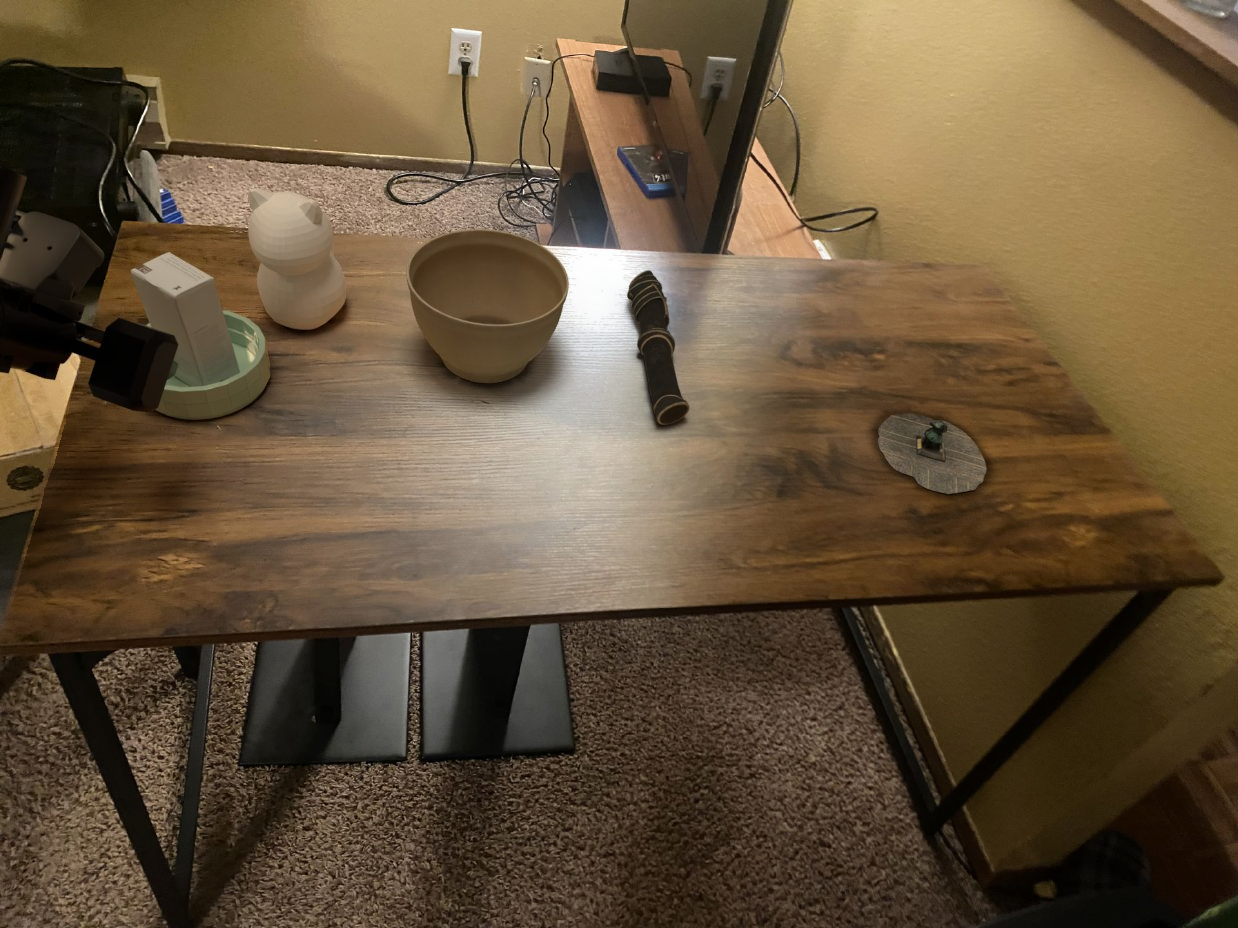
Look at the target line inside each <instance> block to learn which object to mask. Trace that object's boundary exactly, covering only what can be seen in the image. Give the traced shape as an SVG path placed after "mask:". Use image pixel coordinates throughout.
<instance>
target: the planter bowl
mask: <svg viewBox="0 0 1238 928" xmlns="http://www.w3.org/2000/svg"><path fill="white" fill-rule="evenodd" d="M405 272H406V274H405V275H406V282H407V283H406V284H407V287H408V290H409V296H410V303H411V308H412V311H413V315H414V317H415V318H414V319H415V320H416V323H417V325H418V327H419V330H420V331H421V333H422V335H423V337H424V338H425V340H426V341H427V343H428V344H429V346H430V347H431V348H432V349H433V351H434V352H436V353H437V354H438V356H439V357H440V359H441V361H442V363H443V364H444V366H445V367H446V368H447V369H448V370H449V371H450V372H451V373H452V374H454V375H456V376H457V377H459V378H461V379H464V380H467V381H469V382H474V383H480V384H497V383H502V382H505V381H509V380H511V379H513V378H515V377H517V376H519V375H520V374H521V373H522V372H523V371H524V370H525V369H526V367H527V365H528V363H530V362H531V361H532V360H534V358H536V357H537V356H538V355H539V354H540V352H542V351H543V349H545V347H546V346H547V344H548V343H549V342H550V340H551V338H552V337H553V335H554V333H555V331H556V329H557V327H558V325H559V322H560V320H561V317H562V313H563V309H564V305H565V303H566V300H567V297H568V293H569V286H570V285H569V284H570V282H569V276H568V273H567V270H566V268H565V267H564V264H563V263H562V262H561V260H560V259H559V258H558V257H557V256H556V255H555V253H553V252H552V251H551V250H550V249H548V248H547V247H545V246H543V245H542V244H540V243H538V242H536V241H534V240H532V239H531V238H527V237H524V236H521V235H519V234H516V233H511V232H508V231H502V230H498V229H497V230H496V229H485V228H483V229H482V228H477V229H475V228H474V229H473V228H472V229H461V230H455V231H449V232H446V233H443V234H439V235H437V236H435V237H432V238H431V239H428V240H426V241H425V242H424V243H422V244H421V245H420V246H419V247H417V248H416V249H415V251H413V252H412V254H411V255H410V257H409V259H408V262H407V264H406V271H405Z"/></svg>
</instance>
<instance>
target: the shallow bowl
mask: <svg viewBox="0 0 1238 928" xmlns="http://www.w3.org/2000/svg"><path fill="white" fill-rule="evenodd" d="M222 310H223V313H224V317H225V320H226V324H227V327H228V331H229V335H230V338H231V342H232V345H233V349H234V352H235V356H236V359H237V363H238V366H239V370H240V373H239V374H237V375H235V376H233V377H231V378H229V379H227V380H225V381H222V382H218V383H214V384H210V385H206V386H196V387H191V386H190V385H188V384H187V383H185V382H184V381H182V380H181V379H179V378H178V377H176V376H175V375H174V376H173V377H171V378H170V379H168V380H167V382H166V385H165V388H164V391H163V394H162V397H161V400H160V403H159V406H158V408H157V409H155V410H154V411H156V412H158V413H160V414H163V415H165V416H168V417H171V418H175V419H179V420H189V421H191V420H192V421H195V420H196V421H197V420H198V421H199V420H200V421H201V420H211V419H217V418H220V417H225V416H228V415H231V414H233V413H236V412H238V411H240V410H242V409H243V408H245V407H247V406H249V405H250V404H251V403H253V402H254V401H255V400H256V399H257V398H258V397H259V396H260V395H261V394H262V393H263V392H264V390H265V388H266V386H267V385H268V384H267V383H268V382H269V381H270V378H271V360H270V355H269V351H268V345H267V340H266V337H265V335H264V333H263V331H262V330H261V328H260V326H258V325H257V324H256V323H254V322H253V321H252V320H251V319H249V317H246V316H244V315H241V314H238V313H236V312H233V311H232V310H224V309H222ZM145 325H146V326H149V327H151V325H150V323H149V322H148V323H147V324H145Z"/></svg>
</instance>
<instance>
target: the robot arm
mask: <svg viewBox="0 0 1238 928" xmlns="http://www.w3.org/2000/svg"><path fill="white" fill-rule="evenodd" d="M27 179H28V177H27V176H25V175H24V174H22V173H20V172H17V171H16V170H13V169H10V168H8V167H6V166H3V165H1V164H0V373H2V374H10V371H11V369H12V370H18V371H22V372H24V373H27V374H30V375H33V376H35V377H38V378H41V379H44V380H51V381H56V379H57V375H58V373H59V370H60V367H61V365H64V364H65V363H67V362H68V361H69V359H70V358H71V356H72V355H73V354H75V355H77V356H80V357H83V358H86V359H89V360H92V361H94V364H93V367H92V370H91V372H90V376H89V379H88V383H87V385H88V387H89V389H90V392H91V394H92V397H93V398H96V399H99V400H102V401H105V402H108V403H111V404H113V405H116V406H118V407H121V408H125V409H127V410H129V411H133V412H141V413H151V412H153V411H156V410H155V409H157V408H158V406H159V403H160V400H161V397H162V394H163V391H164V388H165V385H166V382H167V380H168V379H170V378H171V377H173V376H174V375H175V373H176V370H177V367H178V363H177V362H175V361H174V357H175V354H176V351H177V348H178V345H179V344H178V342H177V340H176V338H175V336H174V335H172V334H169V333H166V332H163V331H161V330H158V329H155V328H152V327H149V326H146V325H147V324H143V323H139V322H137V321H133V320H130V319H127V318H122V317H117V318H116V319H114V321H112V322H111V323H110V324H108V325H106V326H105V330H103V329H101V328H98V327H96V326H92V325H90V324H86V323H84V322H80V321H81V320H82V317H83V315H84V312H85V308H86V304H83V303H81V302H77V301H75V300H72V299H73V298H75V297H76V296H78V295H79V294H80V292H81V291H82V290H83V288H85V286H86V284H87V282H88V281H89V279H90V278H91V276H92V275H93V274H94V272H95V270H96V269H97V268H99V267H101V265H102V263H104V259H105V253H104V250H103V249H101V248H100V246H99V245H97V244H96V243H95V241H93V239H92V238H90V236H89V235H88V234H87V233H86V232H85V231H83V230H82V229H81V227H79V226H78V225H77V224H75V223H73V222H71V221H67V220H64V219H62V218H58V217H55V216H53V215H50V214H47V213H44V212H41V211H35V210H34V211H29V212H26V211H21V210H19V209H18V207H19V204H20V201H21V199H22V195H23V192H24V188H25V185H26V182H27ZM83 339H85V340H88V341H91V342H94V343H98V344H100V345H97V344H94V343H91V342H88V341H85V340H83Z"/></svg>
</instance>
